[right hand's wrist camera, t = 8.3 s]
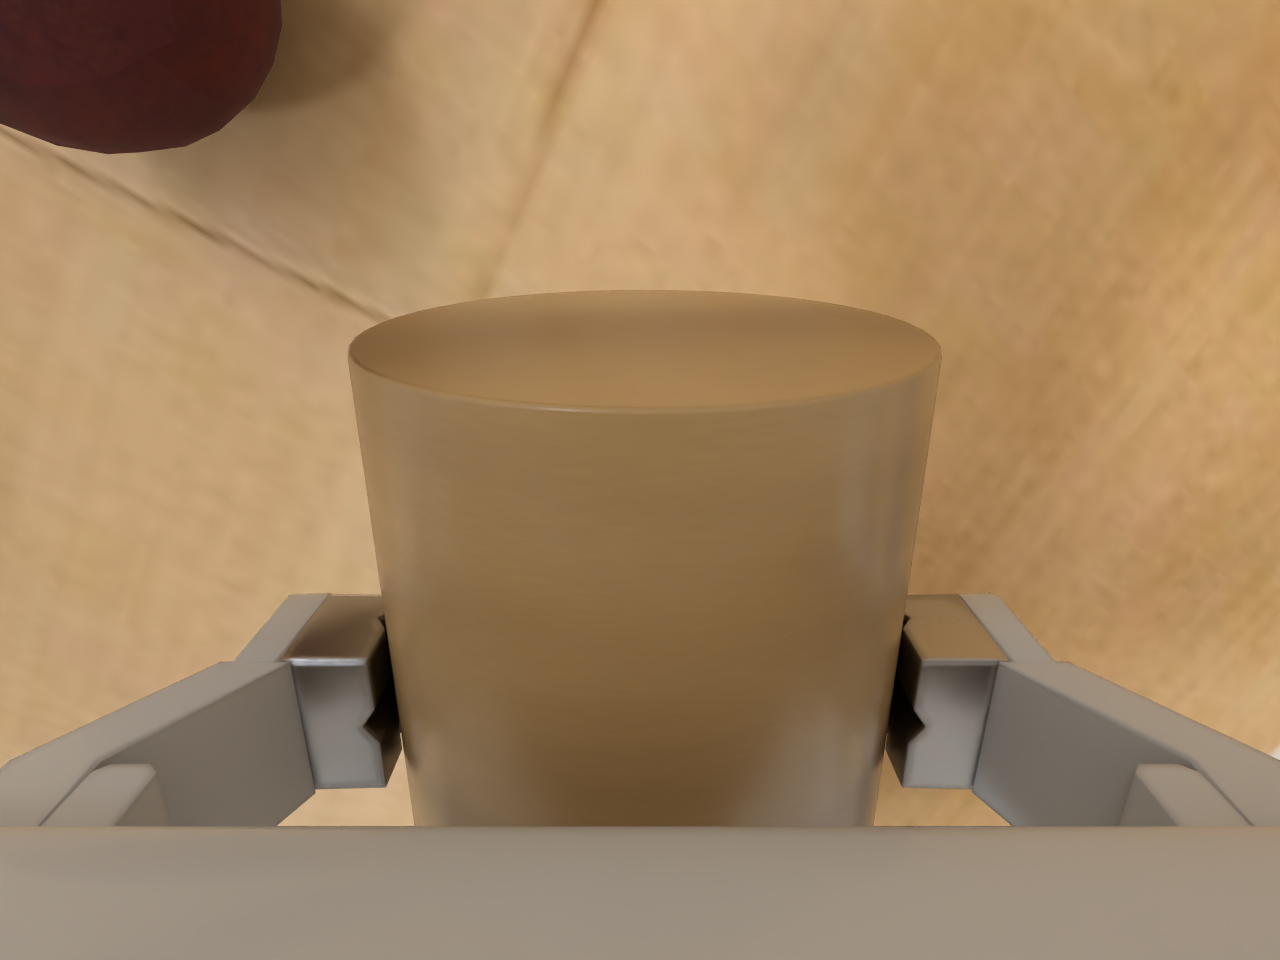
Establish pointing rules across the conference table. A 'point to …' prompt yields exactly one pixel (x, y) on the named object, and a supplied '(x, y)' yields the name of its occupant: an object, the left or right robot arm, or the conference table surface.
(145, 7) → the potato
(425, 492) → the rod
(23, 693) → the conference table surface
